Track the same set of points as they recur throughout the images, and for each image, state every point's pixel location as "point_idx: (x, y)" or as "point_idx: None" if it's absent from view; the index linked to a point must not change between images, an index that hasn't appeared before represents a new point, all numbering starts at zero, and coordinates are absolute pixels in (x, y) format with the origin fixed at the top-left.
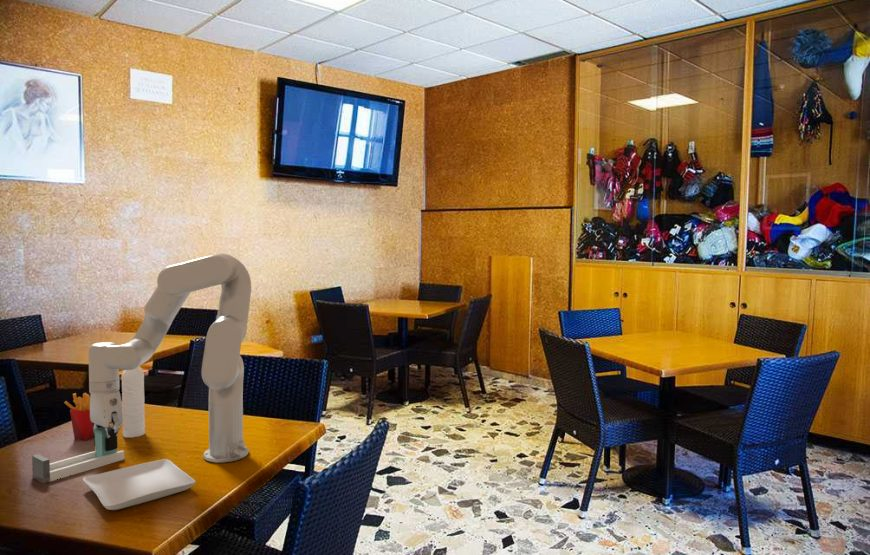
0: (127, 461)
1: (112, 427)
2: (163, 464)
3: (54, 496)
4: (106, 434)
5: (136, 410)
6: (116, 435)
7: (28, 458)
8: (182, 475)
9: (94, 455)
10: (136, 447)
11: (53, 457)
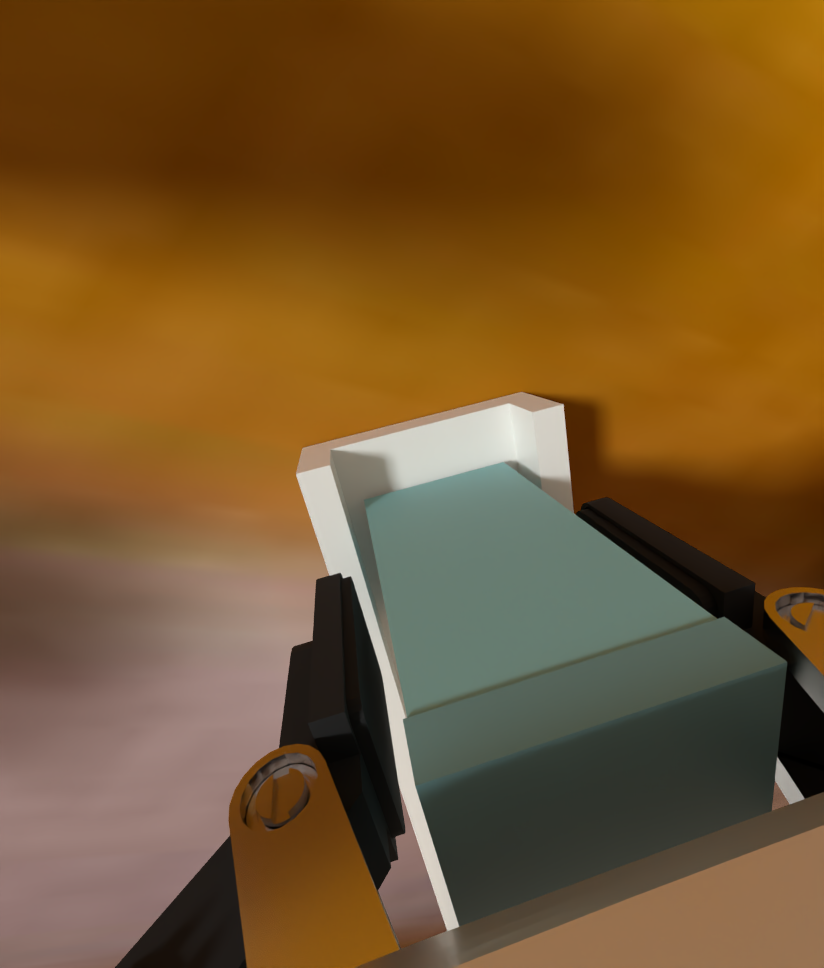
0: (590, 382)
1: (670, 731)
2: None
3: (773, 792)
4: (797, 780)
5: None
6: (811, 608)
7: (12, 952)
8: None
9: (382, 629)
10: (205, 149)
11: (87, 832)
